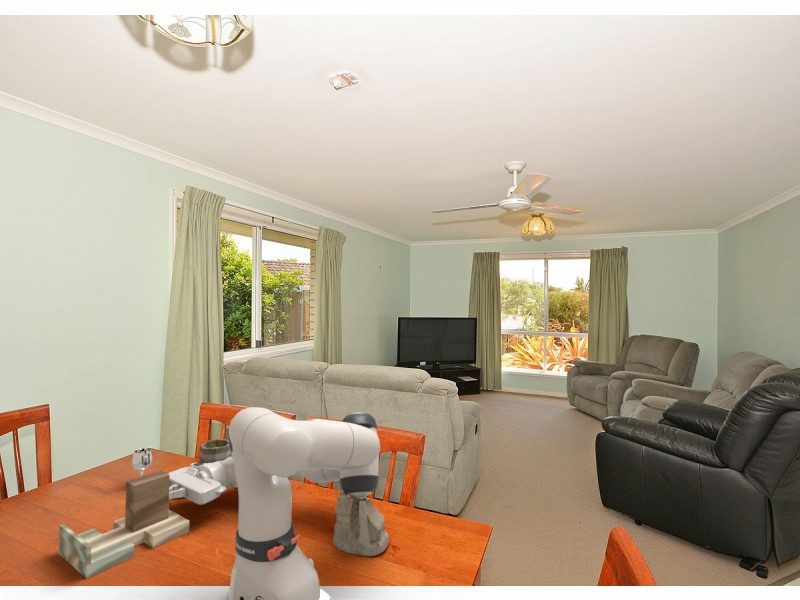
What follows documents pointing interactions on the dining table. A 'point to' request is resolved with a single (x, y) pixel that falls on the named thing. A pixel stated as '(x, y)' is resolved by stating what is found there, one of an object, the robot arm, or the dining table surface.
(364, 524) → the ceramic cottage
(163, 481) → the walnut block
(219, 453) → the mug
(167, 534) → the cream block stand
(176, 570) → the dining table surface
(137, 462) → the wineglass
